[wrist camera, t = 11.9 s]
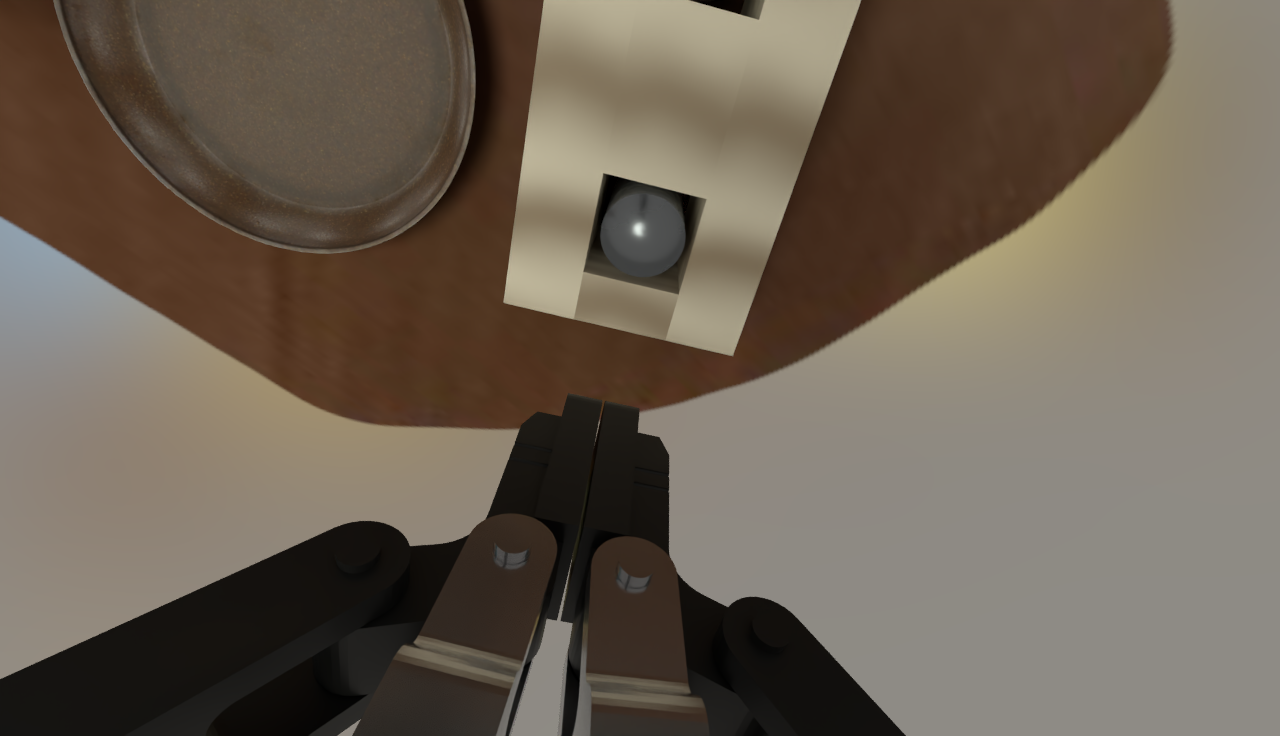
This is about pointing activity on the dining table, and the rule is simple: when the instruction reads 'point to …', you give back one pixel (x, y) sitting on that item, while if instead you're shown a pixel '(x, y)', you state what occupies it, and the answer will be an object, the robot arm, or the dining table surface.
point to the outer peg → (643, 228)
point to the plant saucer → (286, 107)
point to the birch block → (668, 152)
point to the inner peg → (704, 0)
